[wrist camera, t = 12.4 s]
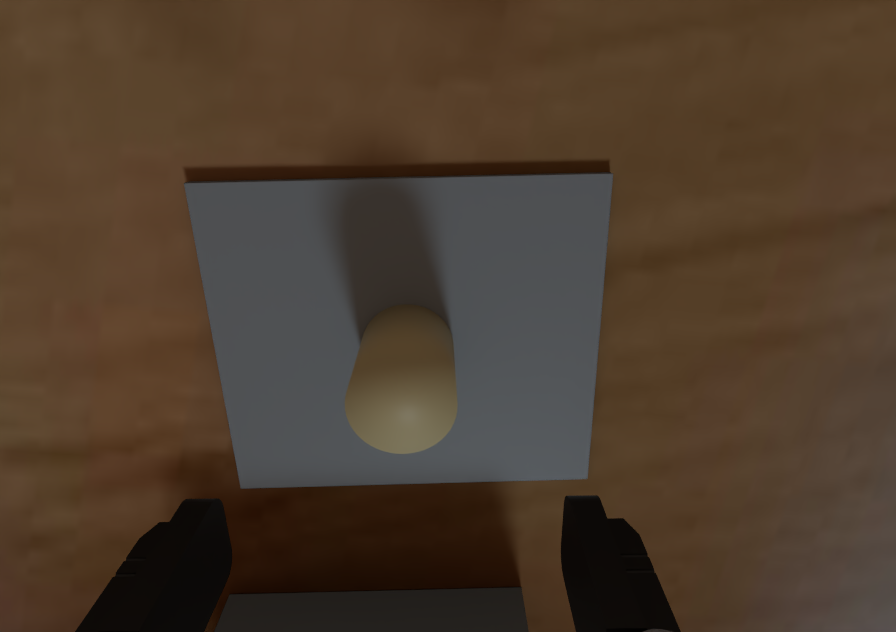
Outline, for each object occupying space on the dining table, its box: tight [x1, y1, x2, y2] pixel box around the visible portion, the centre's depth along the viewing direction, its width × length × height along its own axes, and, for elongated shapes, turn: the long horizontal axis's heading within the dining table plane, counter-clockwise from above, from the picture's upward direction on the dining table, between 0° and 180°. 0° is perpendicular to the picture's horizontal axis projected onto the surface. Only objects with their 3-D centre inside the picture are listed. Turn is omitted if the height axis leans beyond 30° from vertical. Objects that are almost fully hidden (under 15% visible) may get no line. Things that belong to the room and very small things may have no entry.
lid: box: [184, 172, 613, 489], centre depth 21 cm, size 15×13×6 cm
